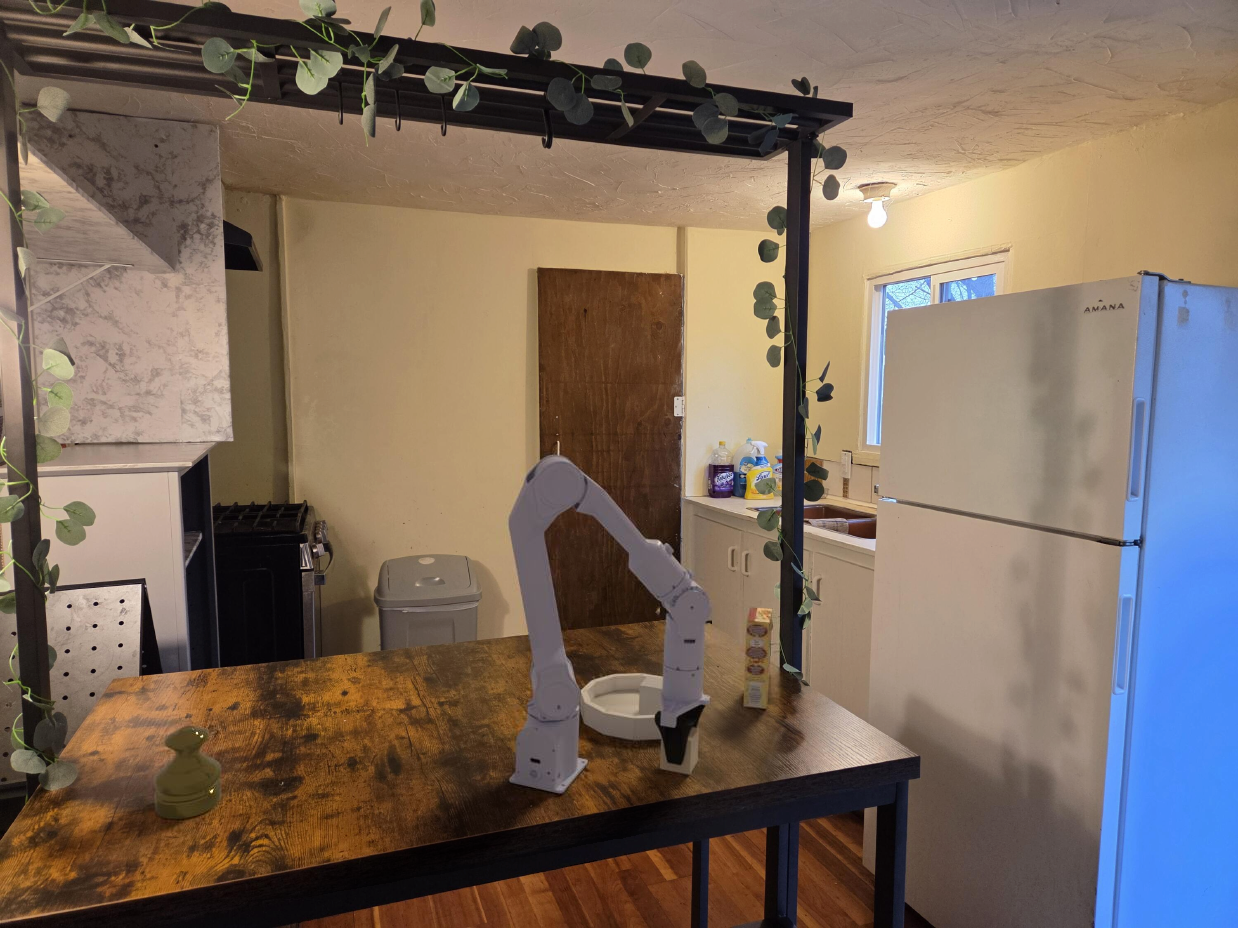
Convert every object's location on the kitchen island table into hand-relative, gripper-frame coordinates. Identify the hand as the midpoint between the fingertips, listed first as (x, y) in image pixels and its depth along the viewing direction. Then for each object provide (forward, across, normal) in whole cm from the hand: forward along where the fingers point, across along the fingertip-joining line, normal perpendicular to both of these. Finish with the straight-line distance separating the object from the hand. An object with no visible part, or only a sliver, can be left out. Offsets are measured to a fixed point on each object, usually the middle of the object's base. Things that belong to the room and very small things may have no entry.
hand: (679, 755), depth 113 cm
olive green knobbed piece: (+2, -35, +54) cm, 64 cm away
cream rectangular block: (+1, 0, 0) cm, 1 cm away
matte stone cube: (0, +14, +8) cm, 16 cm away
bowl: (+1, +14, +11) cm, 18 cm away
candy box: (+2, +29, -6) cm, 30 cm away
